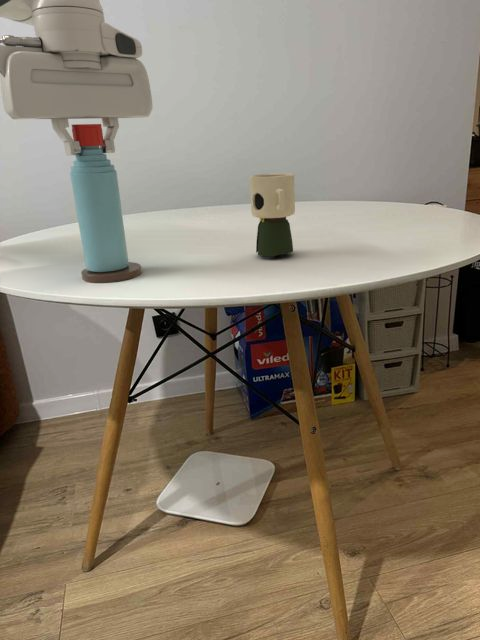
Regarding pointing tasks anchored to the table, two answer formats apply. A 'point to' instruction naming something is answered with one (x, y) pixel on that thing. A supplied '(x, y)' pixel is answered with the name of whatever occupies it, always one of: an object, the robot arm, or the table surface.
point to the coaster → (112, 274)
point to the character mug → (273, 212)
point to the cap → (88, 134)
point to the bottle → (99, 211)
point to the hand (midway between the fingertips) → (91, 154)
